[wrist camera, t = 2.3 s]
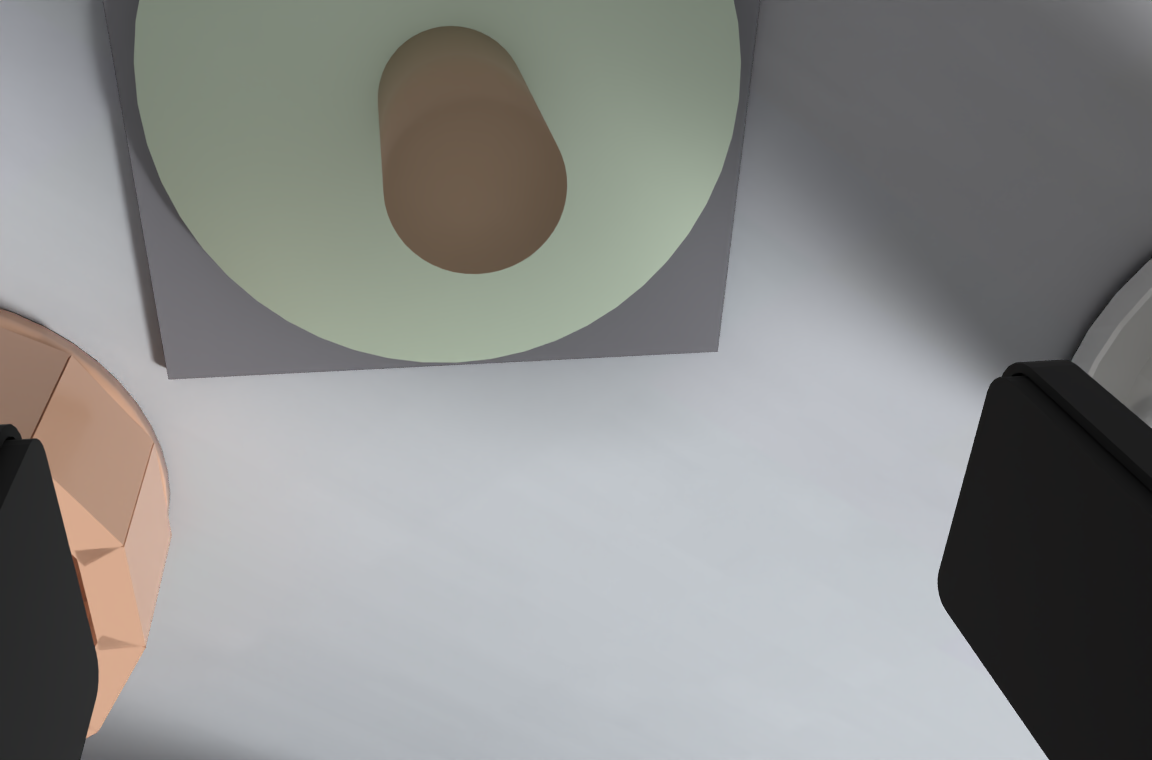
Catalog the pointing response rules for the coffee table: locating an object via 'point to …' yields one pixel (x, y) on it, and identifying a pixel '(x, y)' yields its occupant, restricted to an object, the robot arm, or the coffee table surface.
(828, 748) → the coffee table surface
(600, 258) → the lid
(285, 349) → the mat
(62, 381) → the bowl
